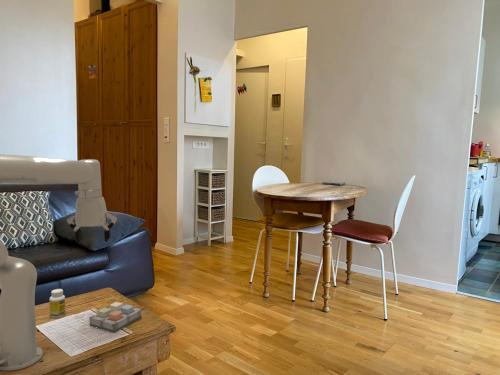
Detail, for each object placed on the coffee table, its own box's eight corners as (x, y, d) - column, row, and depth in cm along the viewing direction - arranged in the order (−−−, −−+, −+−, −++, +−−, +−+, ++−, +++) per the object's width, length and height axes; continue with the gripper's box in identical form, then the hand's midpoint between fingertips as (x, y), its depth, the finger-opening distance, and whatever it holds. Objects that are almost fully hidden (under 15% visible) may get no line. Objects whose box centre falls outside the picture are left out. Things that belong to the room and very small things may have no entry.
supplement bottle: (61, 318, 148) (60, 293, 147) (47, 318, 148) (46, 293, 147) (68, 312, 153) (67, 288, 152) (54, 312, 153) (53, 288, 152)
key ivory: (116, 313, 147) (116, 306, 147) (109, 311, 149) (109, 305, 148) (122, 310, 150) (122, 303, 150) (116, 308, 152) (116, 301, 151)
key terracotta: (115, 322, 139) (115, 315, 139) (108, 320, 141) (108, 313, 141) (122, 318, 142) (122, 312, 142) (115, 317, 144) (115, 310, 144)
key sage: (104, 319, 142) (104, 312, 141) (97, 317, 143) (97, 310, 143) (111, 315, 145) (111, 309, 144) (104, 314, 146) (104, 307, 146)
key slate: (127, 316, 145) (127, 309, 145) (120, 314, 146) (120, 307, 146) (133, 312, 148) (133, 306, 148) (127, 311, 149) (126, 304, 149)
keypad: (114, 333, 137) (114, 324, 137) (89, 325, 142) (89, 317, 142) (141, 317, 150) (141, 309, 149) (117, 311, 155) (117, 303, 154)
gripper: (61, 196, 134) (64, 244, 136) (112, 195, 135) (115, 243, 138) (69, 193, 141) (72, 238, 144) (117, 192, 143) (120, 237, 145)
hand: (93, 240), depth 141 cm, fingers open, 9 cm apart
